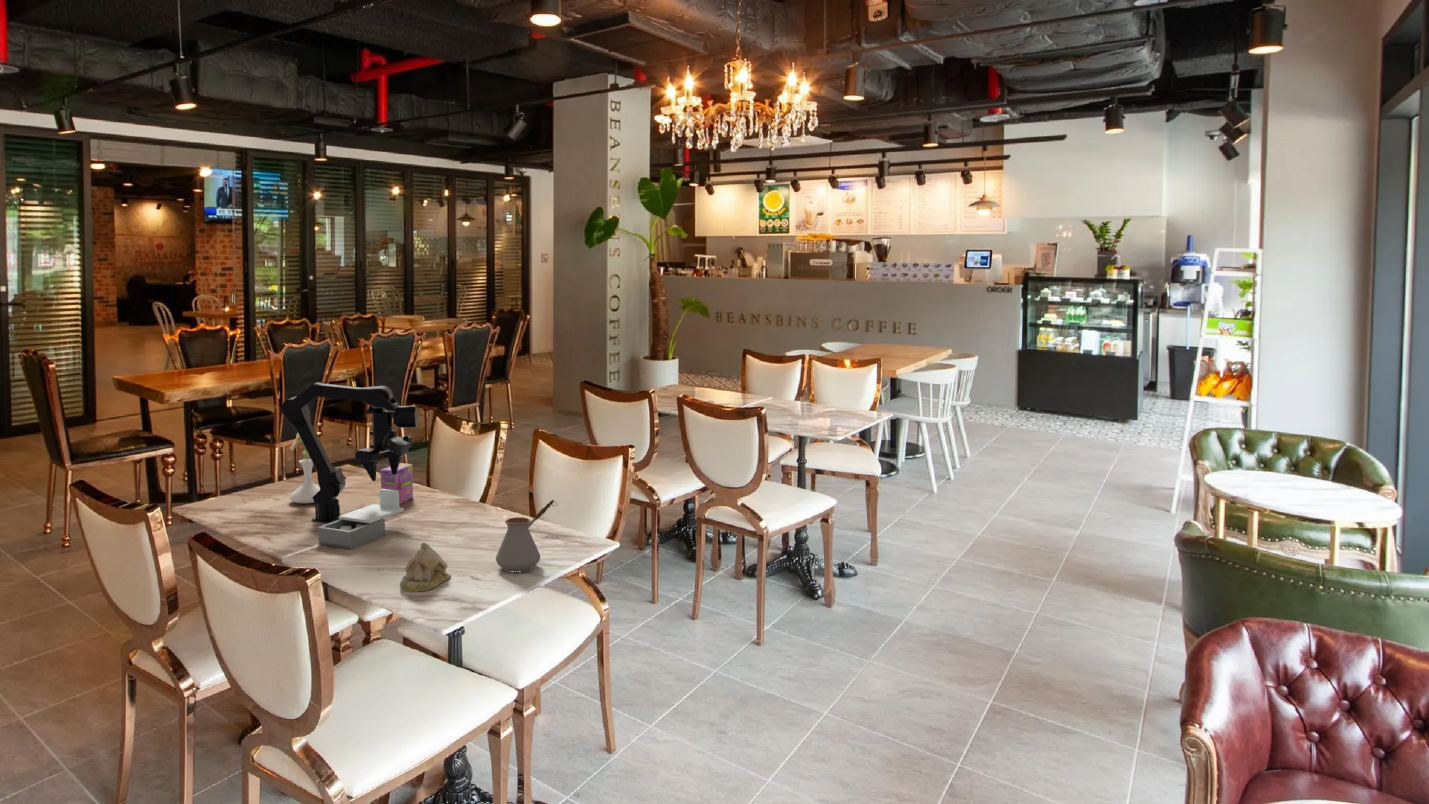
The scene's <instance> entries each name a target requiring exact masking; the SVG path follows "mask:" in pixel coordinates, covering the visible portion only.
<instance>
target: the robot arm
mask: <svg viewBox="0 0 1429 804" xmlns="http://www.w3.org/2000/svg"><path fill="white" fill-rule="evenodd" d="M319 397H320V398H328V399H339V400H348V401H357V402H361V403H363V404H366V405H369V407H368V408H367V410H365V411H364V415H365V414H366V415H371V418H372V419H371V422H372V423H371V424H372V425H371V426H372V430H371V431H369V435H370V436H372V444H370V445H369V448H366V447H365V448H361V449H356V450H355V452H354V460H357V462H360V463H361V464H362V467H363V468H364V469H365V471H366V473H367V475H368V476H369V478H370V480H371V481H372V482H376V481H377V465H378V464H379V462H380V461H381V460H380V459H379V458H380V455H383V454H385V453H386V454H387V458H388V461H389V466H390V467H391V471H392V474H393V475H396V473H397V470H398V467H399V463H401V460H402V458H403V457H404V456H405V455H406V454H408V452H409V451H411V448H412V447H413V439H412V438H413V437H412V436H411V435H409V434H407V435H404V436H398V435H397V434H398V433H397V431H396V430H394V427H393V425H394V426H395V427H397V428H398V429H401V428H403V429H407V428H408V429H410V428H411V429H415V428H418V426H419V418H420V417H419V414H418V410H417V409H418V408H417V405H401V404H400V403H399V402H398V400H397V399H396V398H395V397H394V393H393V390H392V389H391V388H390V386H389V387H388V386H386V385H378V386H377V385H376V386H375V385H374V386H366V387H358V386H347V385H339V384H331V383H323V382H319V381H318V382H317V381H316V382H315V383H312V384H310V385H309V387H308V388H306V389H305V390H304V391H302V392H301V393H300V394H298V395H297V396H292V397H290V398H288V399H286V400H285V401H283V402H282V404H281V407H280V410H281V413H282V415H283V416H284V418H285V419H286V420H287V422H288V424H290V425H292V427H294V429H296V431H297V433H298V434H299V436H300V438H301V441H302V442H303V444H304V446H305V448H306V450H307V452H308V454H309V459H311V460H312V462H313V467H314V468H315V470H316V475H317V483H318V487H320V491H319V492H317V493H316V494H315V495H314V496H313V500H314V506H315V507H314V509H315V511H314V512H315V513H314V514H315V517H313V518H311V521H312V522H318V523H325V524H329V523H332V522H335V521H337V520H340V519H339V516H341V511H340V510H341V505H340V504H339V501H340V500H339V499H337V497H339V496H340V493H341V492H342V491H343V490H344V489H345V487H346V483H347V482H346V479H347V477H346V476H345V475H344V474H343V470H342V468H341V466H339V467H337V468H336V467H335V466H334V465H333V464H332V463H331V461H330V459H329V457H328V454H327V452H326V451H325V449H324V447H323V445H322V442H321V441H320V438H319V436H318V434H317V432H316V430H315V428H314V426H313V424H312V420H311V411H310V407H309V405H311V404H312V403H313V402H314V401H315V400H317V399H318V398H319ZM304 446H303V447H304ZM305 448H304V449H305Z"/></svg>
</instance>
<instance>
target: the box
mask: <svg viewBox="0 0 1429 804" xmlns="http://www.w3.org/2000/svg"><path fill="white" fill-rule="evenodd" d="M413 478H414V477H413V463H412V464H411V463H404V462H403V463H402V462H400V463H399V467H398V470H397V473H396V475H393V474H392V471H391V467H390V465H389V466H387V467H385V468H382V469H380V489H389V490H397V491H399V505H400V504H403V503H404V501H405V502H407V501H408V500H410V499H413V498H414V487H413V484H414V483H413V481H414V479H413ZM402 502H403V503H402Z"/></svg>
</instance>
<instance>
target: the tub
mask: <svg viewBox="0 0 1429 804" xmlns="http://www.w3.org/2000/svg"><path fill="white" fill-rule="evenodd" d="M317 531H318V532H317V535H318V546H324V545H326V546H325V547H331V548H339V549H343V548H345V549H344V550H353V549H356V548H358V547H360V545H361V546H363V545H365V544H369V543H370V542H373V541H375V539H376V540H378V539H380V538H383V537H385V536H386V520H385V518H383V519H381V520H378V521H375V522H373V523H363V522H356V521H349V520H342V519H338V520H335V521H333V522H330V523H325V524H323V525H321V526H318V527H317Z"/></svg>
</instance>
